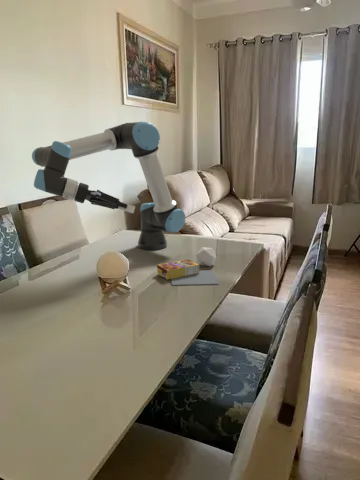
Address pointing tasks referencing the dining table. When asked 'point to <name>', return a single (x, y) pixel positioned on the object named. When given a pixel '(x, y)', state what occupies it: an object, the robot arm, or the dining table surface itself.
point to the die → (206, 256)
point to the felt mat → (196, 279)
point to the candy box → (178, 269)
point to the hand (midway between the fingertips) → (134, 210)
